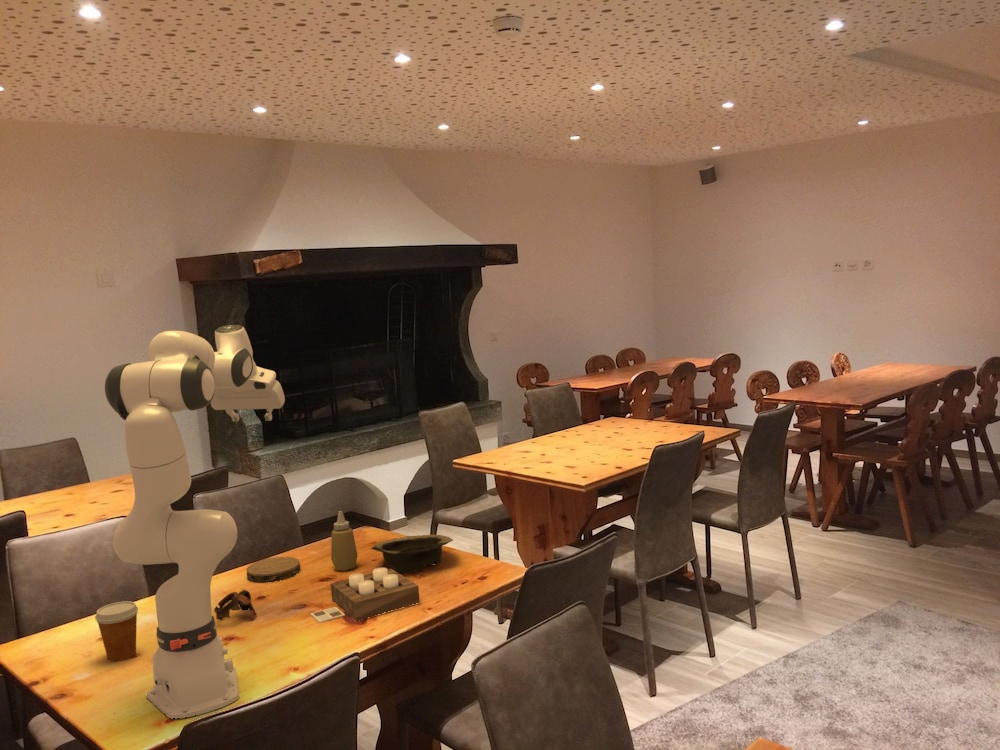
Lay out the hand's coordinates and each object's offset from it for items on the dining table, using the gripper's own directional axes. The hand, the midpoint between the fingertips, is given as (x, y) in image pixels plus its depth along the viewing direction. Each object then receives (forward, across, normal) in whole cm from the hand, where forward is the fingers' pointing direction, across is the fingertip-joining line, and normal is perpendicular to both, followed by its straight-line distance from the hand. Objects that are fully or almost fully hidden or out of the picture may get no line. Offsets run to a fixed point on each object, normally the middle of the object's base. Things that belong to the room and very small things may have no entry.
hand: (252, 420), depth 232 cm
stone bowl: (+52, +41, -5) cm, 66 cm away
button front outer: (+36, +40, -32) cm, 63 cm away
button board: (+39, +36, -32) cm, 62 cm away
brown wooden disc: (+52, -2, -8) cm, 53 cm away
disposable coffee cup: (+29, -21, -58) cm, 68 cm away
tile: (+36, +25, -40) cm, 59 cm away
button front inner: (+34, +35, -36) cm, 61 cm away
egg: (+37, +31, -31) cm, 57 cm away
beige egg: (+39, +36, -27) cm, 59 cm away
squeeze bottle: (+52, +20, -6) cm, 56 cm away
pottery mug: (+37, 0, -39) cm, 54 cm away
